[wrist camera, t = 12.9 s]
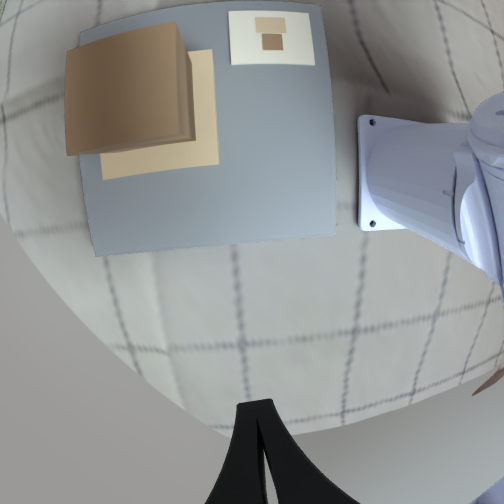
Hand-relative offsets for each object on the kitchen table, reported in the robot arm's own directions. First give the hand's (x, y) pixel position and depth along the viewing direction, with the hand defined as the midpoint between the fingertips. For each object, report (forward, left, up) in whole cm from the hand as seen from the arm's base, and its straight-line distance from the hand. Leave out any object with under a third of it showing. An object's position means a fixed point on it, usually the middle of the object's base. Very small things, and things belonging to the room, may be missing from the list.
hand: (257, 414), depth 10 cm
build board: (+2, -12, -10) cm, 16 cm away
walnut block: (+4, -13, -6) cm, 15 cm away
